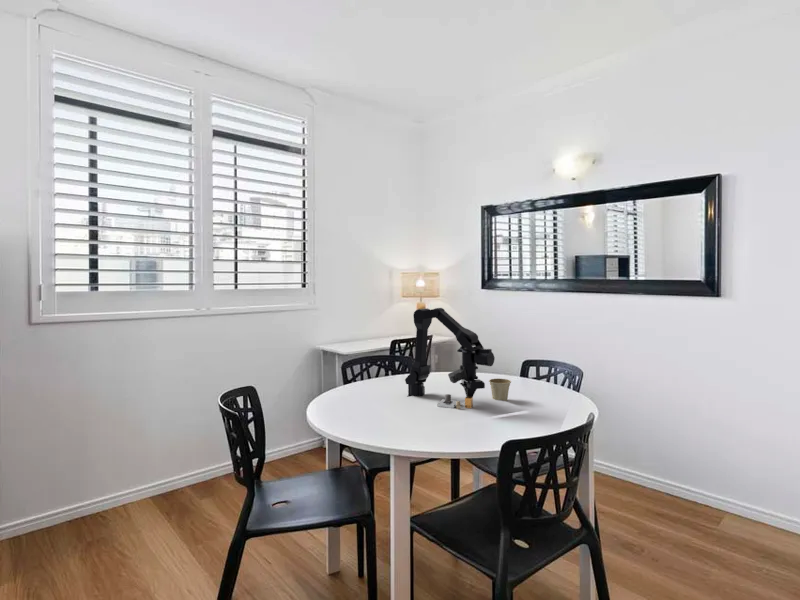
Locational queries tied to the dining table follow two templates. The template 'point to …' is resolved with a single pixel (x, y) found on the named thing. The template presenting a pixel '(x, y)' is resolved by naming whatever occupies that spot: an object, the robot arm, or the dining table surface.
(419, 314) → the robot arm
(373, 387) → the dining table surface
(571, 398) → the dining table surface
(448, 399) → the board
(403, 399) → the dining table surface
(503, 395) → the flower pot
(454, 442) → the dining table surface
